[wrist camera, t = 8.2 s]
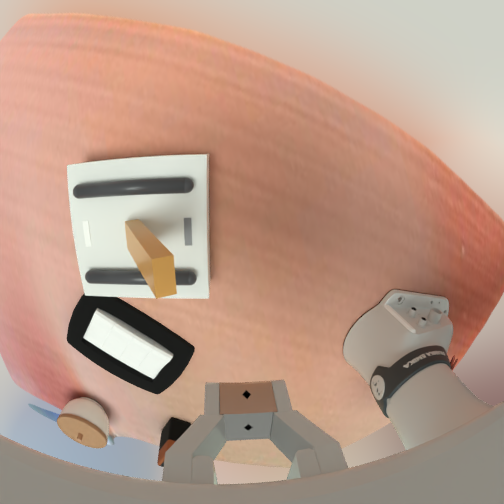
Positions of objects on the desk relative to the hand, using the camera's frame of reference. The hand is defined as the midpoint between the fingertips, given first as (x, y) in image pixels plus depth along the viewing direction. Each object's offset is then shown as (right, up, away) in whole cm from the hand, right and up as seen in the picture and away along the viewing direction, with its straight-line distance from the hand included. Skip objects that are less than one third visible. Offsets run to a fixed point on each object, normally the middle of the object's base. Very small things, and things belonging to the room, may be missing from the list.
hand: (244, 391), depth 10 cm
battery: (-15, -30, +38) cm, 51 cm away
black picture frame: (-19, -9, +30) cm, 37 cm away
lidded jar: (-33, -26, +35) cm, 55 cm away
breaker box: (-13, +9, +24) cm, 28 cm away
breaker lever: (-12, +7, +18) cm, 23 cm away
